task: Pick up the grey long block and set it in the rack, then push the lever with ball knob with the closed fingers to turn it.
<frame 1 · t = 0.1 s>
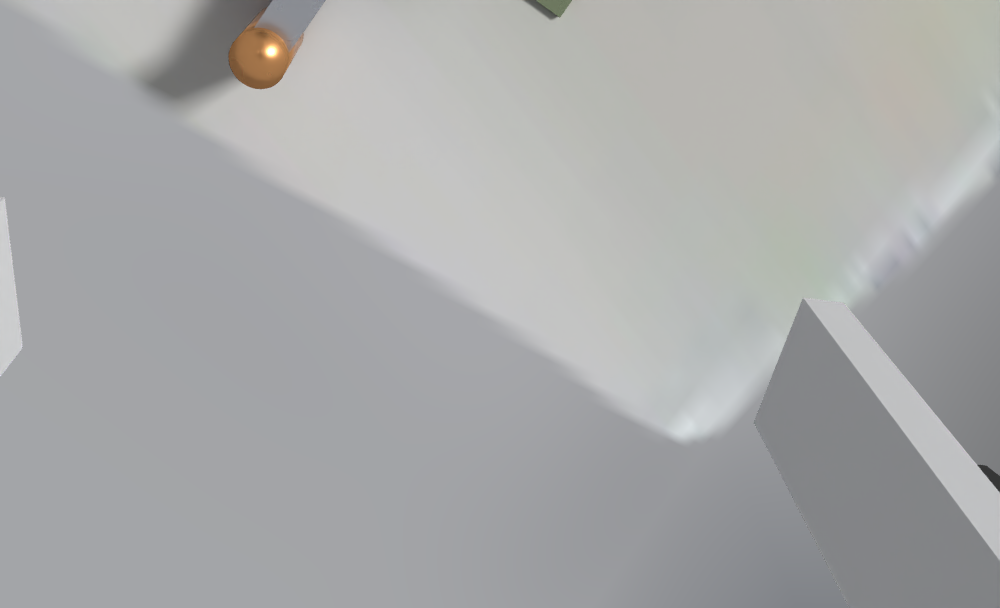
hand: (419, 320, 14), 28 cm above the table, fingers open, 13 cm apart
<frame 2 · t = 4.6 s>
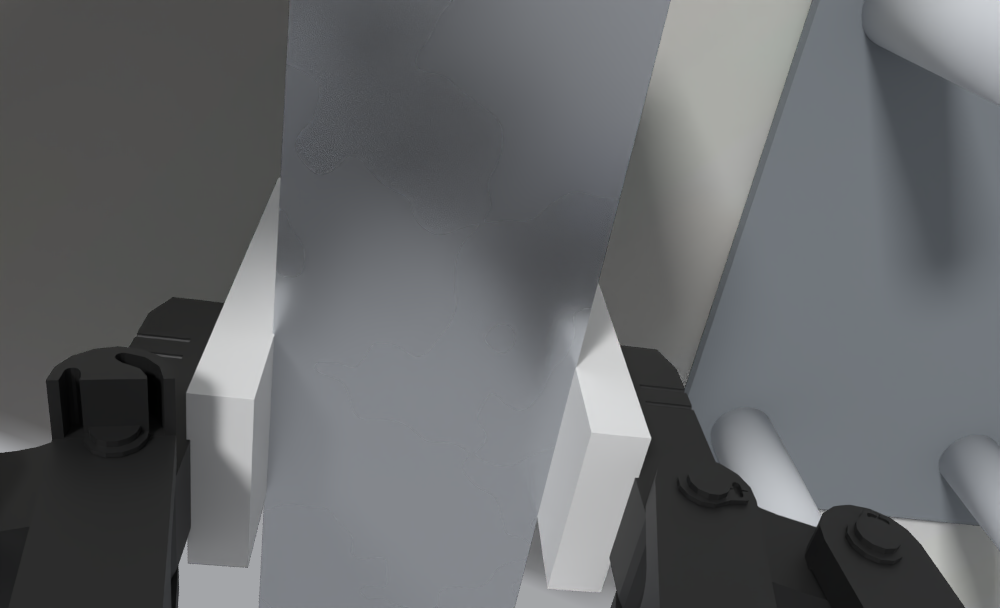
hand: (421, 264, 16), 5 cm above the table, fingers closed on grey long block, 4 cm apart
rack: (932, 259, 23), on the table
grey long block: (421, 261, 17), point 5 cm above the table, touching gripper
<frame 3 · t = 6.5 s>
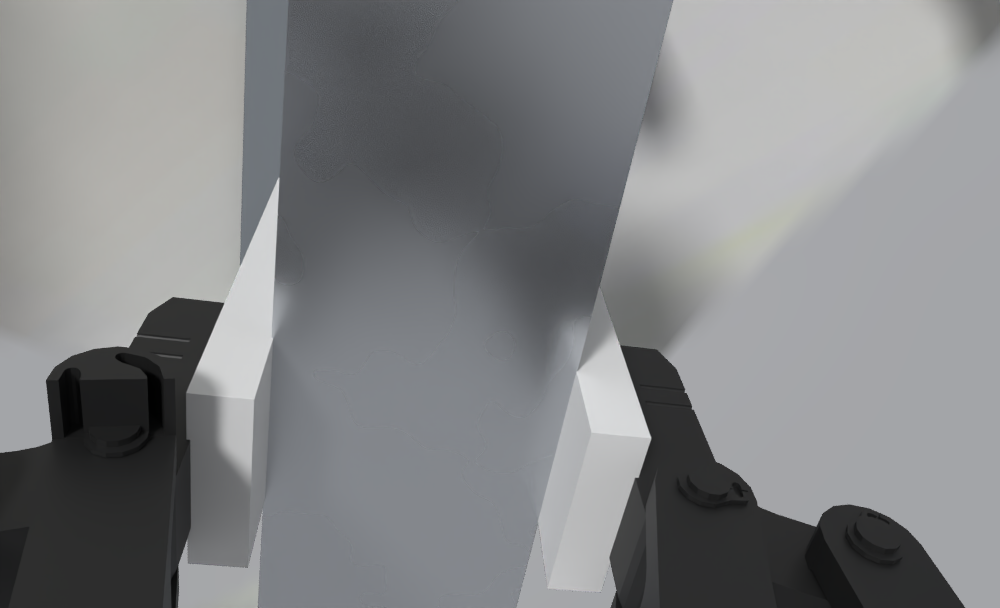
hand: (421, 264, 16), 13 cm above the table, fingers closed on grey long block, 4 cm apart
rack: (424, 77, 27), on the table
grey long block: (420, 266, 17), point 12 cm above the table, touching gripper
when the fingers open (2 cm above the table, at t = 8.6 s): grey long block stays where it is, resting on rack.
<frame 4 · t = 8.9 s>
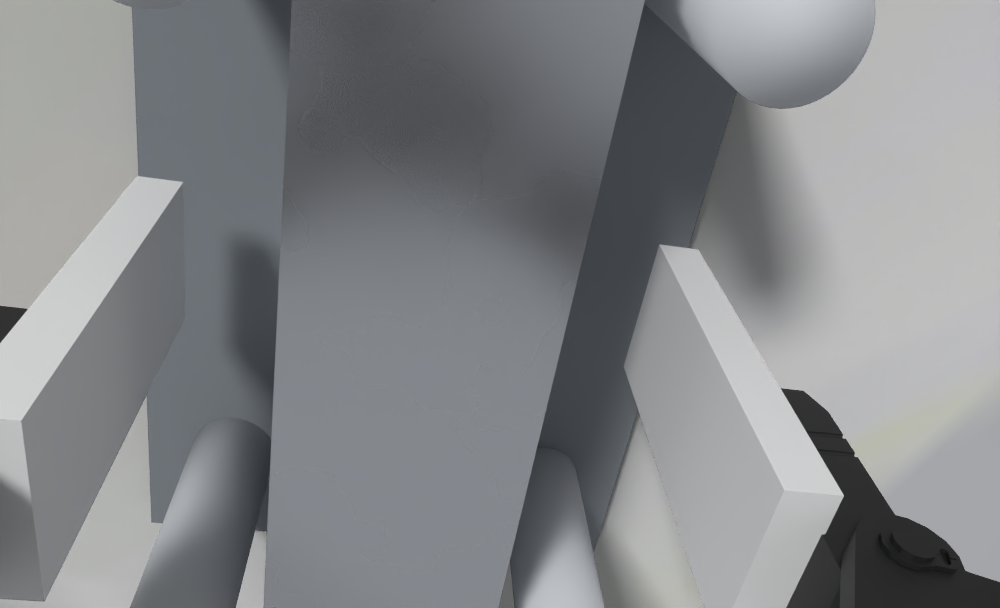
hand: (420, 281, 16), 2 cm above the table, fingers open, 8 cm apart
rack: (422, 227, 18), on the table
grey long block: (418, 242, 17), resting on rack
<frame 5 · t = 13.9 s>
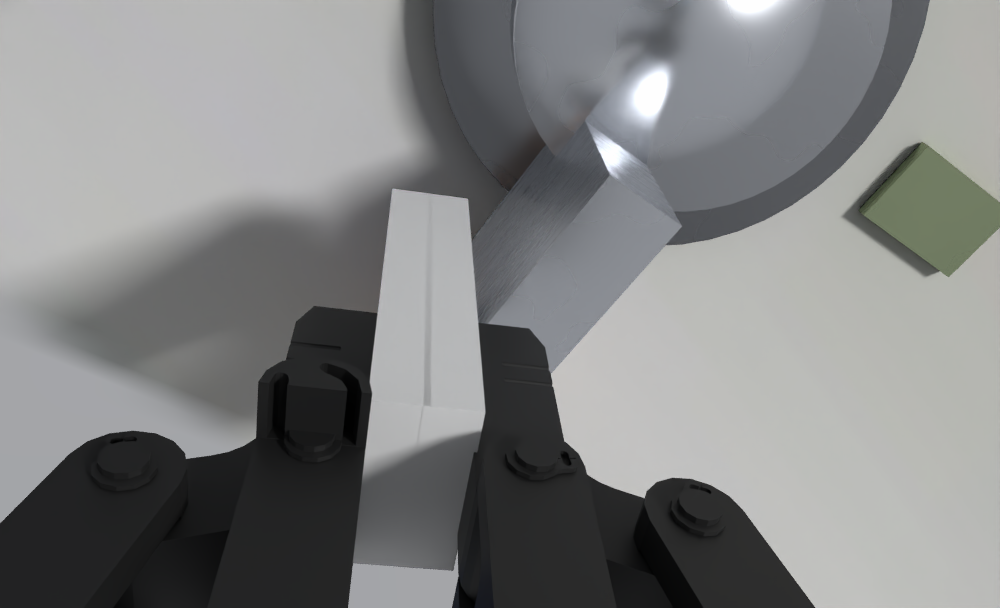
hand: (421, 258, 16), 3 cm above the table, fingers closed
lever with ball knob: (608, 188, 16), point 3 cm above the table, hinge at 3.2°, touching gripper
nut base: (676, 14, 18), on the table
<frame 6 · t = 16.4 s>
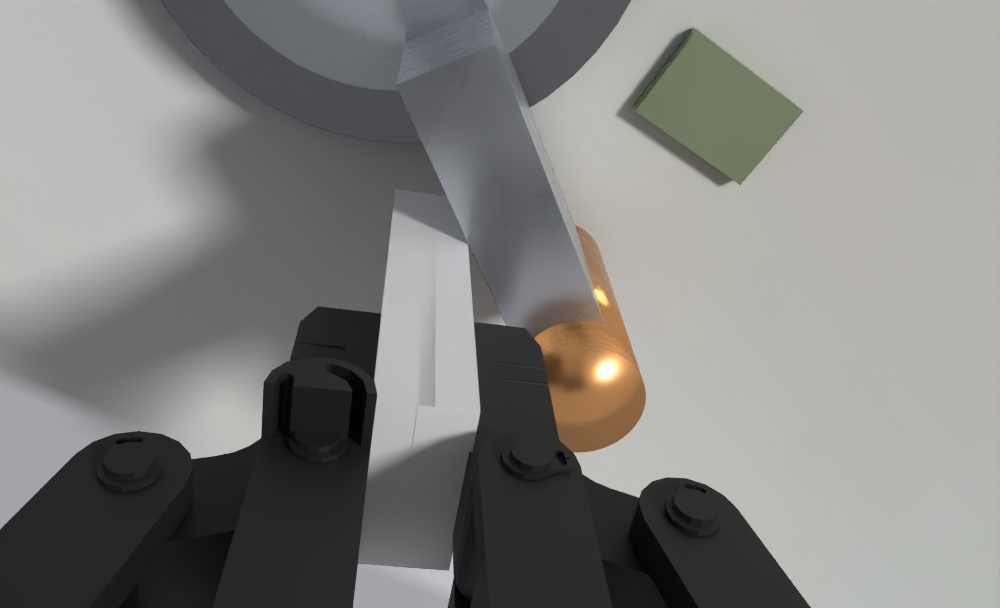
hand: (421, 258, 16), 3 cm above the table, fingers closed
lever with ball knob: (458, 70, 14), point 3 cm above the table, hinge at 61.0°, touching gripper
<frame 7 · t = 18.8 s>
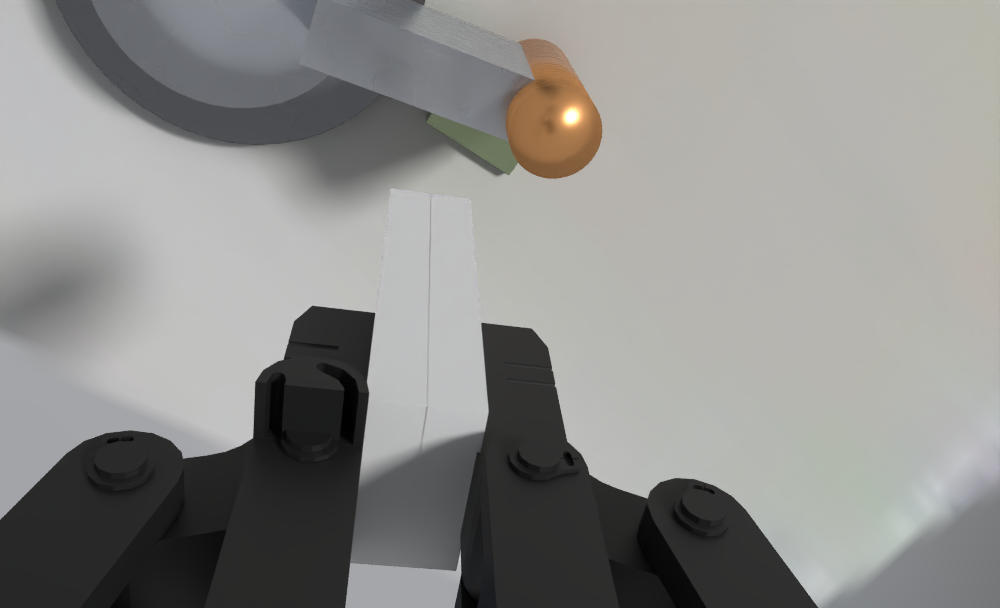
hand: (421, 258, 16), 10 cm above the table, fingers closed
lever with ball knob: (339, 24, 21), point 3 cm above the table, hinge at 107.9°
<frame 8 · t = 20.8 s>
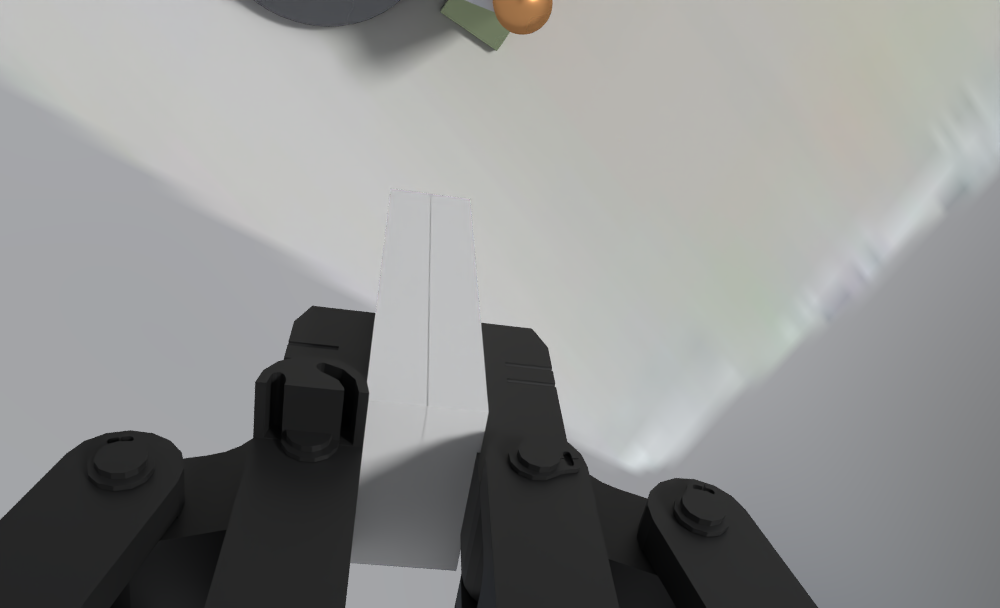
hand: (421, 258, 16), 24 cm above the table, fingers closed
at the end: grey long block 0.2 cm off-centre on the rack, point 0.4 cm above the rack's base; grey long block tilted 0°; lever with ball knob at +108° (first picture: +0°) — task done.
